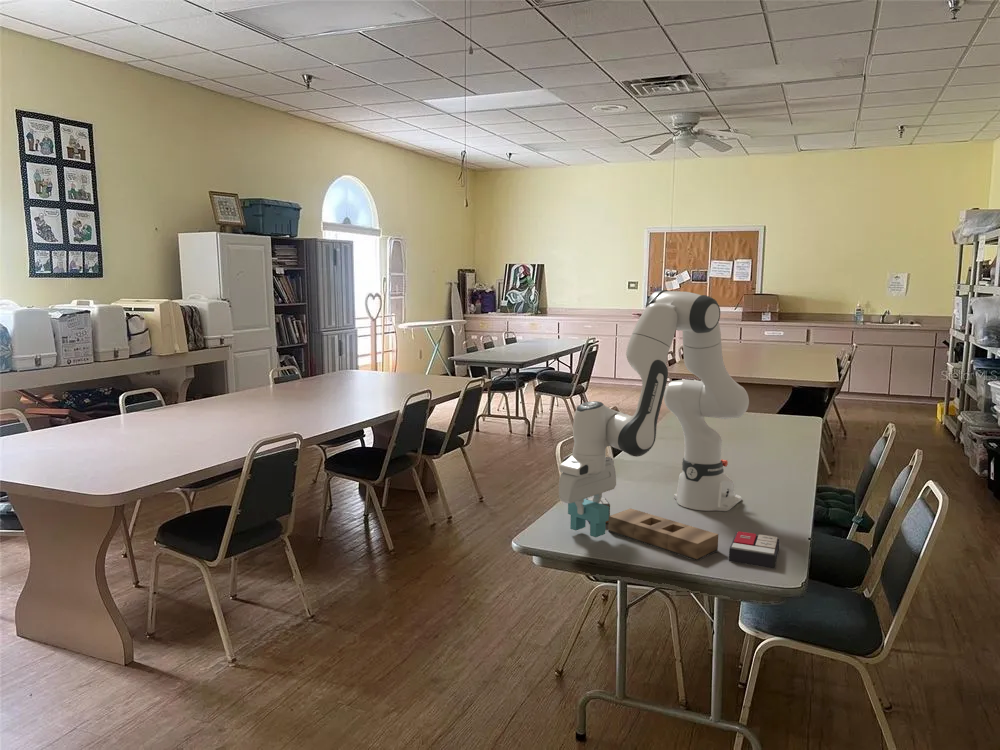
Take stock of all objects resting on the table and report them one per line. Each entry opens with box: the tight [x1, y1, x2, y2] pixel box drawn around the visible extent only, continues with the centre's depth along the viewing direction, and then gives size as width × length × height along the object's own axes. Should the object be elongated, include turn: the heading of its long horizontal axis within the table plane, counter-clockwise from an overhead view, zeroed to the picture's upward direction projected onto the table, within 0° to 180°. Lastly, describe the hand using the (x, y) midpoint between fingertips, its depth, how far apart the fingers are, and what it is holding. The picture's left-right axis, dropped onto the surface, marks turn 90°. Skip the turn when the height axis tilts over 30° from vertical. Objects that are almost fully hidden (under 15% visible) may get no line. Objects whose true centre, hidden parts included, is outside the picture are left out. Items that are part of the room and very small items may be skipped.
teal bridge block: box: [567, 498, 609, 538], centre depth 195 cm, size 11×4×8 cm, turn 43°
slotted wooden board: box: [608, 508, 719, 562], centre depth 193 cm, size 28×10×4 cm, turn 43°
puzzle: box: [585, 497, 611, 524], centre depth 209 cm, size 6×6×6 cm
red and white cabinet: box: [728, 531, 780, 570], centre depth 184 cm, size 11×4×15 cm
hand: (588, 511), depth 195 cm, fingers closed on teal bridge block, 4 cm apart
